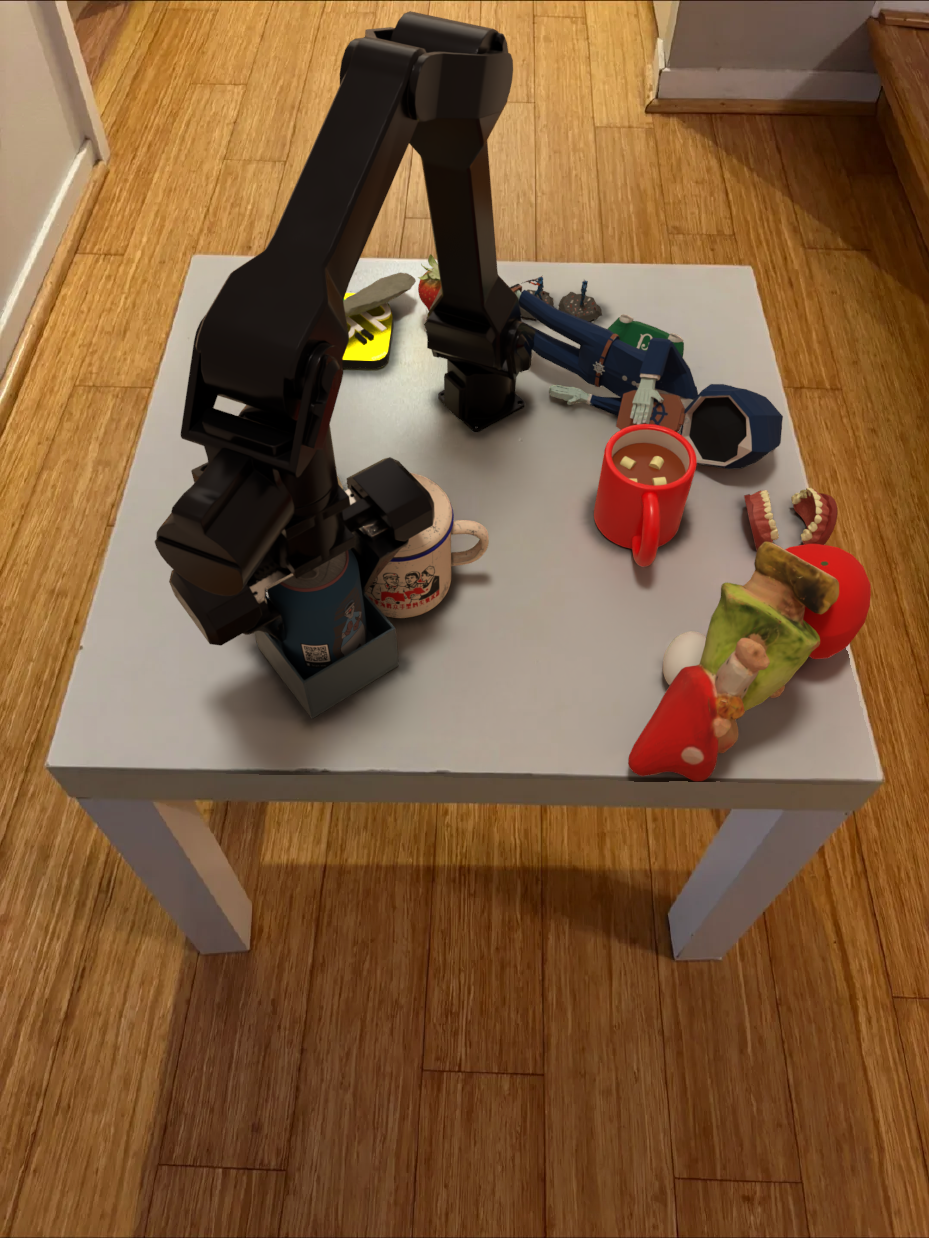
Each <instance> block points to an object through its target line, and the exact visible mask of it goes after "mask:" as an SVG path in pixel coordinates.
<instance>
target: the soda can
mask: <svg viewBox="0 0 929 1238" xmlns="http://www.w3.org/2000/svg"><path fill="white" fill-rule="evenodd" d="M266 593H267V595H268V596H267V597H268V598H269V600H270V601H271V602H272V603H273V605H274V606H275V607H276V608H277V610H278V611H279V612H280V614H281V616H282V619H283V623H284V626H285V630H286V633H287V635H286V640H285V641H283V642H281V645H282V649H283V652H284V654H285V656H286V658H287V659H288V660H289V662H290V663H291V664H292V665H293V666H294V667H295V668H297V669H298V670H300V671H302V672H304V673H307V674H310V675H314V674H316V673H318V672H319V671H321V670H323V669H324V668H326V667H328V666H329V665H331V664H333V663H334V662H336V661H338V660H339V659H341V658H343V657H344V656H346V655H348V654H349V653H351V652H353V651H354V650H356V649H358V648H359V647H361V646H363V645H364V644H366V643H367V641H368V632H367V625H366V618H365V610H364V603H363V596H362V589H361V581H360V574H359V567H358V562H357V559H356V557H355V555H354V553H353V552H352V551H351V550H350V549H349V550H347V551H345V552H343V553H342V554H340V555H338V556H336V557H335V558H333V559H331V560H329V561H327V562H326V563H324V564H322V565H320V566H318V567H317V568H315V569H313V570H311V571H309V572H308V573H306V574H304V575H302V576H300V577H299V578H297V579H296V577H295V576H294V575H293V576H291V577H290V578H288V579H286V580H284V581H282V582H281V583H279V584H277V585H275V586H273V587H272V588H270V589H268V590H267V591H266Z"/></svg>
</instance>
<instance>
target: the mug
mask: <svg viewBox="0 0 929 1238" xmlns="http://www.w3.org/2000/svg"><path fill="white" fill-rule="evenodd" d="M697 465H698V464H697V457H696V454H695V451H694V449H693V447H692V445H691V444H690V443H689V442H688V441H687V440H686V438H684V437H683V436H682V435H680V433H679V432H675V431H673V430H672V429H669V428H666V427H664V426H659V425H653V424H637V425H633V426H629V427H626V428H623V429H621V430H620V429H619V430H617V431H616V432H615V433H614V434H613V435H612V436H611V437H610V438H609V439H608V441H607V442H606V444H605V447H604V451H603V457H602V462H601V468H600V475H599V480H598V484H597V491H596V497H595V501H594V502H595V503H594V507H593V518H594V522H595V525H596V527H597V529H598V530H599V531H600V533H601V534H602V535H604V537H605V538H606V539H607V540H609V541H611V542H612V543H614V544H616V545H618V546H620V547H623V548H627V549H631V552H632V556H633V560H634V563H636V564H637V565H638V566H639V567H642V568H645V567H646V568H647V567H649V566H651V564H653V562H654V561H655V559H656V556H657V552H658V548H659V547H661V546H664V545H666V544H667V543H668V542H671V540H672V539H673V538H674V537H675V536H676V534H677V532H679V529H680V525H681V521H682V519H683V514H684V512H685V509H686V504H687V500H688V497H689V493H690V490H691V487H692V484H693V480H694V476H695V473H696V469H697Z"/></svg>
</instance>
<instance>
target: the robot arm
mask: <svg viewBox="0 0 929 1238" xmlns="http://www.w3.org/2000/svg"><path fill="white" fill-rule="evenodd" d="M513 73H514V59H513V56H512V54H511V53H510V52H509V47H508V41H507V38H506V37H505V34H504V33H502V32H499V30H496V29H495V28H492V27H487V26H483V25H477V24H473V23H469V22H463V21H459V20H454V19H448V18H445V17H440V16H435V15H430V14H426V13H420V12H416V11H411V10H409V11H407V12H404V13H403V14H402V16H400V17H399V19H398V20H397V23H396V25H395V26H394V27H393V26H387V27H378V28H376V27H375V28H367V29H365V30H364V37H358V38H357V37H356V38H354V39H352V40H350V41H349V43H348V45H347V46H346V47H345V49H344V52H343V55H342V58H341V62H340V69H339V86H338V89H337V91H336V93H335V94H334V97H333V100H332V102H331V104H330V107H329V108H328V111H327V113H326V116H325V118H324V120H323V123H322V125H321V127H320V129H319V131H318V134H317V136H316V138H315V140H314V142H313V145H312V147H311V149H310V152H309V154H308V156H307V159H306V161H305V163H304V165H303V167H302V170H301V171H300V174H299V176H298V179H297V181H296V183H295V185H294V188H293V190H292V192H291V194H290V197H289V199H288V201H287V203H286V206H285V207H284V210H283V213H282V215H281V216H280V219H279V222H278V224H277V225H276V228H275V231H274V232H273V235H272V236H271V238H270V240H269V241H268V243H267V245H266V247H265V248H264V250H262V251H261V252H260V253H258V254H257V255H255V256H254V257H252V258H251V259H249V260H248V261H246V262H245V263H243V264H242V265H240V266H238V267H237V268H236V269H234V270H233V271H231V272H230V273H229V275H228V276H227V278H226V280H225V281H224V283H223V285H222V286H221V288H220V290H219V291H218V293H217V295H216V297H215V298H214V301H213V302H212V303H211V304H210V306H209V308H208V310H207V312H206V314H205V315H204V316H203V317H202V318H201V320H200V321H199V324H198V325H197V329H196V331H195V335H194V339H193V345H192V353H191V359H190V366H189V372H188V379H187V386H186V394H185V399H184V407H183V415H182V420H181V426H180V427H181V428H180V438H181V439H182V440H185V441H188V442H191V443H193V444H196V445H199V446H202V447H204V451H205V455H206V459H207V461H206V462H204V463H202V464H200V465H199V466H196V467H195V468H193V469H191V470H190V473H191V475H192V479H193V484H192V485H191V486H190V487H189V488H188V489H187V490H185V491H184V492H183V494H182V495H181V496H180V497H179V498H178V500H177V501H176V502H175V503H174V504H173V506H172V508H171V511H170V514H169V515H168V516H167V517H166V519H165V520H164V521H163V523H162V524H161V525H160V526H159V527H158V529H157V531H156V537H155V538H156V539H155V540H154V544H155V548H156V549H157V551H158V553H159V555H160V556H161V558H162V559H163V560H164V562H165V563H166V564H167V565H168V566H169V567H170V568H171V569H172V570H171V571H170V576H169V580H168V583H169V585H170V587H171V590H172V593H173V595H174V597H175V598H176V600H177V601H178V602H179V604H180V605H181V606H182V608H183V610H185V613H186V614H187V615H188V616H189V617H190V619H191V621H192V622H193V623H194V625H195V626H196V627H197V629H198V630H199V631H200V633H201V634H202V636H203V637H204V639H205V640H206V641H207V643H208V644H209V645H212V646H221V647H222V646H223V645H225V644H227V643H228V642H230V641H232V640H234V639H235V638H238V637H239V636H241V635H245V636H248V635H249V636H250V635H252V634H254V632H256V631H261V632H265V633H269V634H271V635H272V636H274V637H275V638H277V639H278V640H279V641H281V642H283V641H285V640H286V635H287V633H286V630H285V626H284V623H283V619H282V616H281V614H280V612H279V611H278V610H277V608H276V607H275V606H274V605H273V603H272V602H271V601H270V600H269V596H267V590H268V589H270V588H272V587H273V586H275V585H277V584H279V583H281V582H282V581H284V580H286V579H288V578H290V577H291V576H293V575H294V576H295V577H296V579H297V578H299V577H300V576H302V575H304V574H306V573H308V572H309V571H311V570H313V569H315V568H317V567H318V566H320V565H322V564H324V563H326V562H327V561H329V560H331V559H333V558H335V557H336V556H338V555H340V554H342V553H343V552H345V551H347V550H349V549H350V550H351V551H352V552H353V553H354V555H355V557H356V559H357V562H358V567H359V574H360V581H361V589H362V595H364V594H365V592H366V591H367V590H368V588H369V587H370V586H371V584H372V583H373V582H374V580H375V579H376V578H377V576H378V575H379V574H380V573H381V571H382V570H383V569H384V568H385V566H386V565H387V564H388V563H389V562H390V561H391V559H392V558H393V557H394V556H395V555H396V554H397V552H398V551H399V550H400V549H402V548H403V547H405V546H406V545H407V544H408V542H409V539H410V538H411V537H413V536H415V535H417V534H419V533H420V532H422V531H424V530H426V529H427V528H429V527H431V526H433V523H434V518H435V513H434V501H433V499H432V497H431V495H430V493H429V492H428V491H427V490H426V489H425V488H424V487H423V486H422V485H421V484H420V483H419V481H418V480H417V479H416V478H415V477H414V476H413V475H412V474H411V473H412V472H410V471H409V470H408V469H407V468H406V466H404V465H403V464H402V463H401V462H400V461H399V460H397V459H395V458H393V457H391V456H389V457H385V458H382V459H381V460H377V462H374V463H373V464H371V465H369V466H367V467H365V468H363V469H361V470H359V471H358V472H356V473H354V474H352V475H350V476H348V477H346V485H347V489H346V490H344V488H343V489H342V488H341V487H340V486H339V484H338V478H339V477H338V478H337V476H338V472H337V464H336V458H335V452H334V451H335V450H334V444H333V438H332V431H331V425H330V424H331V421H332V417H333V414H334V411H335V407H336V404H337V400H338V397H339V393H340V389H341V386H342V381H343V377H344V368H342V367H343V356H344V353H345V350H346V348H347V345H348V341H349V333H348V327H347V321H346V315H345V309H344V303H343V300H344V297H345V294H346V293H347V291H348V288H349V285H350V283H351V280H352V278H353V275H354V273H355V270H356V269H357V266H358V263H359V261H360V259H361V257H362V254H363V251H364V249H365V247H366V245H367V242H368V240H369V238H370V235H371V233H372V231H373V228H374V226H375V224H376V221H377V220H378V217H379V215H380V212H381V210H382V208H383V205H384V203H385V200H386V198H387V196H388V194H389V191H390V189H391V187H392V184H393V182H394V179H395V178H396V175H397V172H398V170H399V167H400V165H401V163H402V160H403V158H404V156H405V154H406V151H407V149H408V147H409V145H410V147H412V148H413V149H414V150H415V152H416V153H417V154H418V155H419V157H420V160H421V166H422V172H423V173H422V174H423V179H424V185H425V192H426V199H427V204H428V209H429V210H428V212H429V217H430V222H431V223H430V225H431V229H432V236H433V244H434V249H435V256H436V262H437V264H438V269H439V276H440V282H441V289H440V291H439V292H438V294H437V296H436V298H435V300H434V302H433V304H432V305H431V308H430V310H429V311H428V312H427V315H426V320H425V322H424V323H423V327H424V329H425V334H426V339H427V341H426V343H427V344H426V348H427V349H429V350H431V354H432V357H434V358H437V359H439V358H440V359H441V358H442V359H444V360H446V372H445V373H444V375H443V390H441V391H439V392H438V393H437V399H438V400H439V402H440V403H442V404H443V405H444V407H445V409H447V410H448V411H449V412H450V413H451V414H452V415H453V416H454V417H455V418H457V419H458V420H459V421H461V423H463V424H464V425H465V426H466V427H467V428H468V429H469V430H470V431H471V432H473V433H481V431H483V430H485V429H487V428H490V427H491V426H493V425H495V424H497V423H498V422H500V421H502V420H504V419H506V418H508V417H509V416H512V415H514V414H515V413H518V412H519V411H521V410H523V409H524V408H525V406H526V401H525V400H524V399H523V398H522V397H521V396H519V395H518V394H517V393H516V388H517V377H518V375H519V374H520V373H523V372H526V371H529V370H530V369H531V367H532V359H533V350H532V349H533V347H534V336H535V330H534V329H533V328H531V327H530V326H531V325H530V326H528V325H529V324H528V323H526V322H524V321H522V316H521V312H520V306H519V301H518V297H517V295H516V294H515V293H514V291H513V290H512V289H511V288H510V287H511V286H510V285H508V284H507V282H505V280H503V278H502V277H501V276H500V275H499V272H498V260H497V259H498V258H497V247H496V234H495V222H494V210H493V209H494V208H493V196H492V183H491V182H492V181H491V171H490V170H491V169H490V157H489V145H488V143H489V142H488V140H489V137H490V136H491V134H492V132H493V130H494V128H495V126H496V124H497V122H498V121H499V118H500V117H501V115H502V113H503V111H504V109H505V107H506V106H507V104H508V100H509V96H510V92H511V88H512V82H513V76H514V74H513ZM521 321H522V322H521ZM525 323H526V324H525ZM527 324H528V325H527ZM218 397H221V398H224V399H227V400H231V401H233V402H237V403H239V404H243V405H245V406H244V407H243V408H242V409H241V411H240V412H239V414H238V415H236V414H233V413H230V412H227V411H224V410H220V409H217V408H215V405H216V402H217V400H218Z"/></svg>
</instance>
